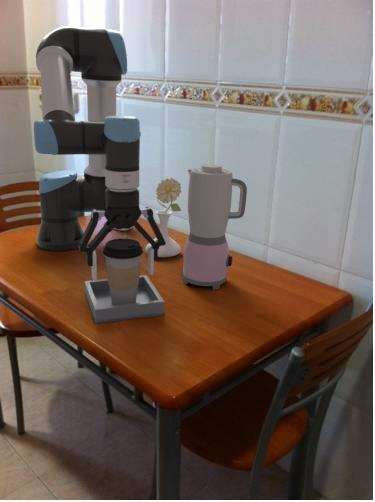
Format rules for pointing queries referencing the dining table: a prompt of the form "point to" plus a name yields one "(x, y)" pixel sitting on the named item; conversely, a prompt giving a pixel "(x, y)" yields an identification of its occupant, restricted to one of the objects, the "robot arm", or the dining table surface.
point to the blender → (210, 224)
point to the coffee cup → (123, 269)
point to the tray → (107, 312)
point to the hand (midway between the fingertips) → (122, 275)
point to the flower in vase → (167, 215)
